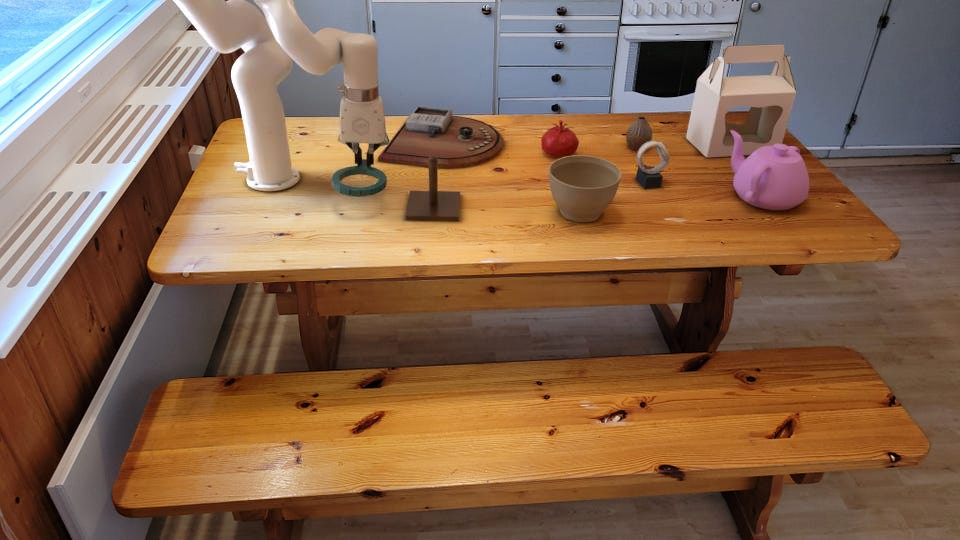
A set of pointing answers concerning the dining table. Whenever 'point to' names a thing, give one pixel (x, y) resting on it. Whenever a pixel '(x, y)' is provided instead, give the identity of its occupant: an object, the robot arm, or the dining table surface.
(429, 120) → the control panel
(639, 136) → the vase
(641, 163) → the ring sculpture
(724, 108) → the gable box
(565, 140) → the pomegranate
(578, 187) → the planter bowl
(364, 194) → the ring
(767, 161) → the teapot
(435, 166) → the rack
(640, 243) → the dining table surface
